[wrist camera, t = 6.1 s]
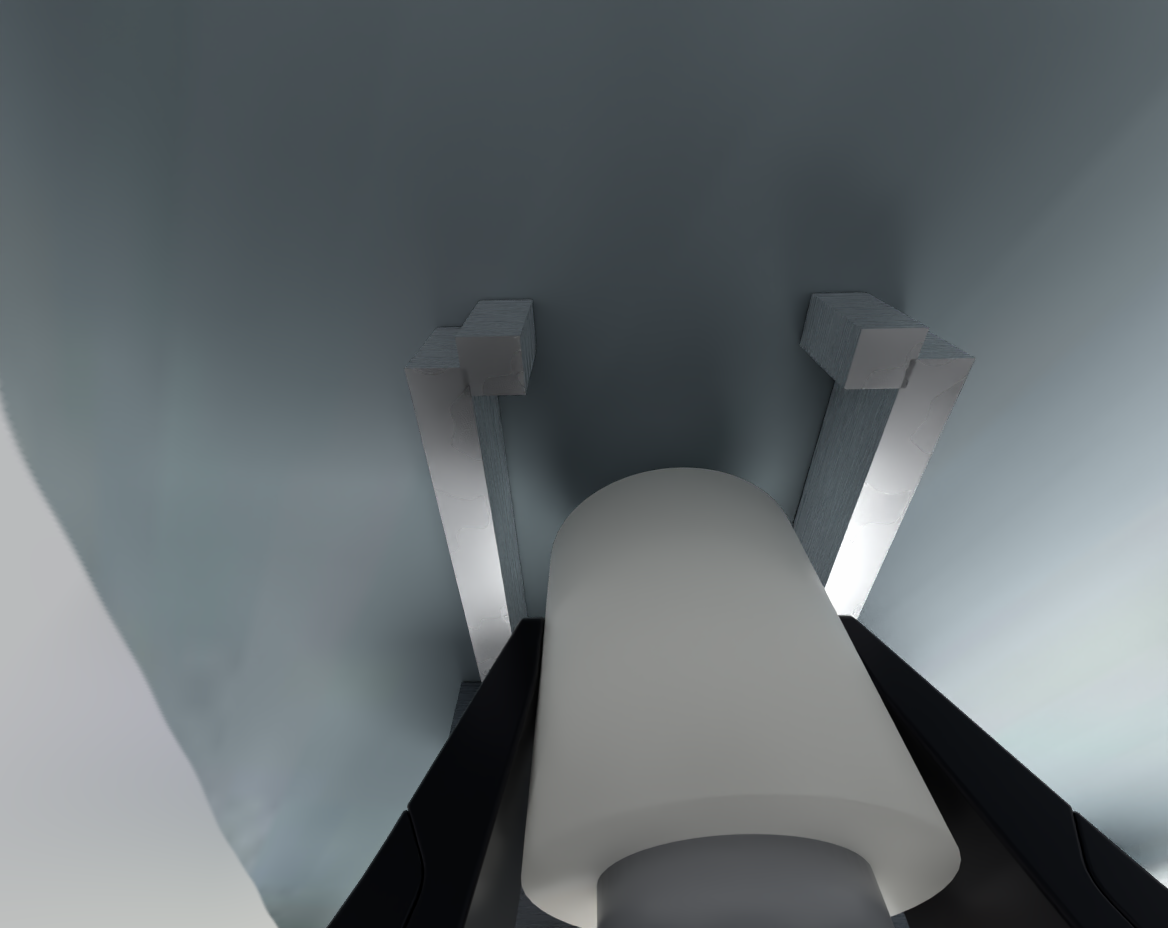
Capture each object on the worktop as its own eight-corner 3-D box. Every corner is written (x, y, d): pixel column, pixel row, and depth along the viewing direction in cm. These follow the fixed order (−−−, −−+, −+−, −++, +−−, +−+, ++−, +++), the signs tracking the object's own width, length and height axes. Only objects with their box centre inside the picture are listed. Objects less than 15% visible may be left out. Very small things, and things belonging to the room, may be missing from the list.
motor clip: (1108, 287, 9) (2788, 779, 2) (836, 767, 19) (971, 1110, 12) (352, 303, 9) (-322, 782, 2) (486, 767, 20) (431, 1104, 13)
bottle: (812, 609, 11) (1001, 1014, 6) (603, 660, 12) (613, 1033, 7) (767, 429, 8) (1038, 878, 3) (507, 516, 9) (415, 947, 4)
